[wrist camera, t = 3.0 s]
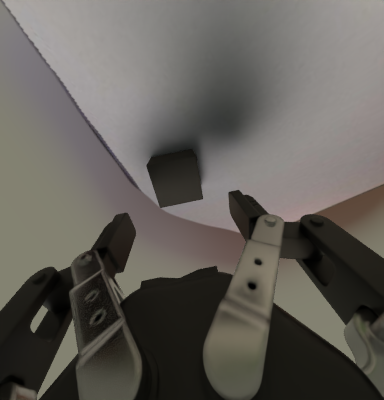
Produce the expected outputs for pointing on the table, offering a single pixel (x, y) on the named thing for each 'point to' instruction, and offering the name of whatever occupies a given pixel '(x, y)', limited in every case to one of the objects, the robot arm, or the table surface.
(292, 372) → the robot arm
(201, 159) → the table surface
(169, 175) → the black square block
